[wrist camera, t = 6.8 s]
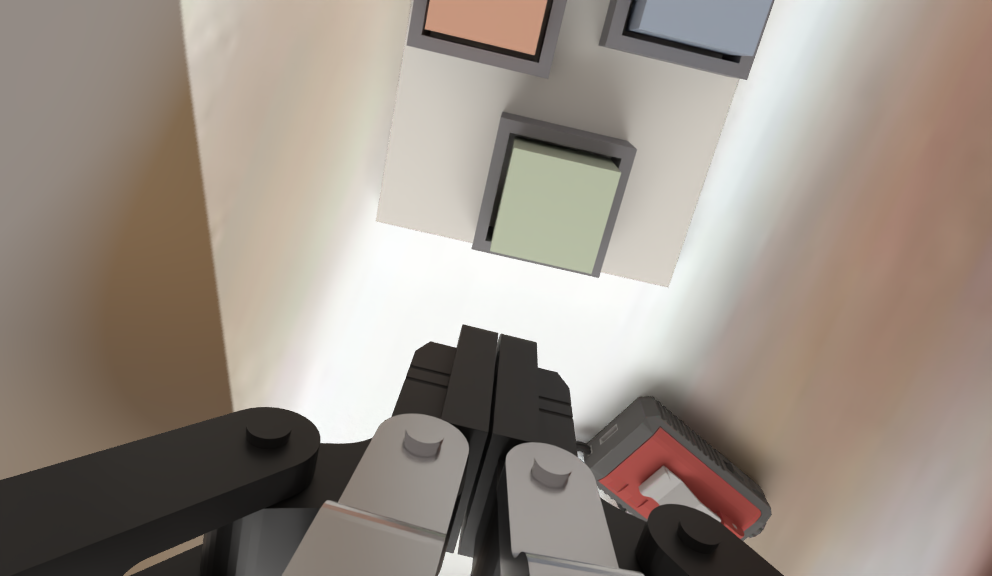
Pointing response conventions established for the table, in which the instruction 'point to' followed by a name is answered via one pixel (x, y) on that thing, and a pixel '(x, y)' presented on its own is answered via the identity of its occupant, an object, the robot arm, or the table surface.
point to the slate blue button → (702, 23)
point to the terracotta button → (490, 21)
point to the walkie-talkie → (671, 470)
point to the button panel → (559, 127)
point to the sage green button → (554, 205)
